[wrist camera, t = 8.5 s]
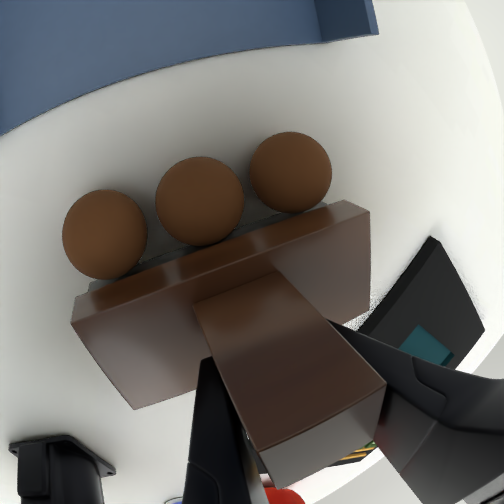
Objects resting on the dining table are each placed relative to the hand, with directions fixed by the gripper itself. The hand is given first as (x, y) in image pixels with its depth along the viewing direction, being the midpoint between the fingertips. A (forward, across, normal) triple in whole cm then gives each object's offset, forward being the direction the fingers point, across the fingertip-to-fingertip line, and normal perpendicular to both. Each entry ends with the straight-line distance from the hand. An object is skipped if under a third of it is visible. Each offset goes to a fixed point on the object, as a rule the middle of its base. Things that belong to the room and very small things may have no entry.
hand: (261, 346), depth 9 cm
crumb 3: (+4, -3, -3) cm, 6 cm away
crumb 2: (+4, 0, -3) cm, 5 cm away
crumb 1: (+4, +4, -3) cm, 6 cm away
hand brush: (+4, 0, 0) cm, 4 cm away
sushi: (+6, -12, +21) cm, 25 cm away
